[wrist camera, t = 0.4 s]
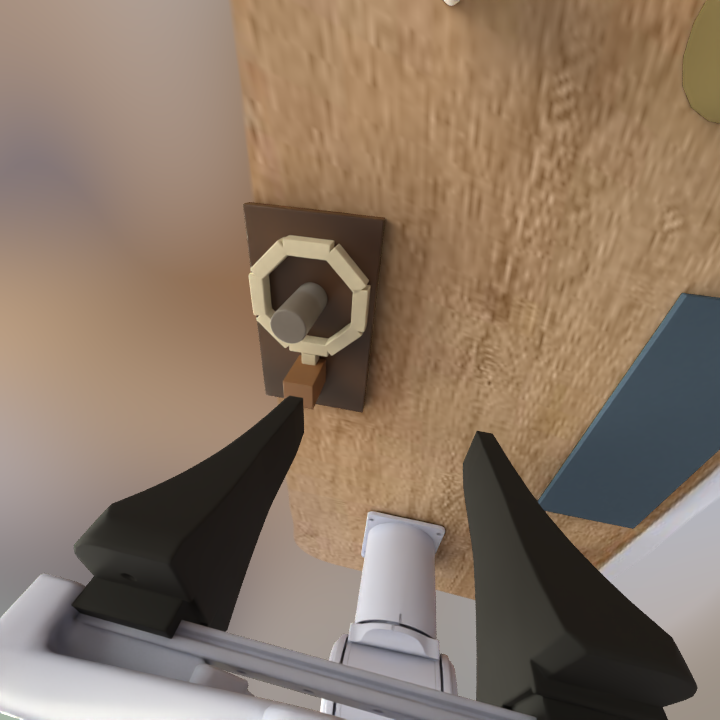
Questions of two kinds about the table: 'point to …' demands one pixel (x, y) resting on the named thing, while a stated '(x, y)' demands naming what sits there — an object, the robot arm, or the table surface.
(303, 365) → the octagonal ring with handle
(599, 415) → the mat
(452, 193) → the table surface
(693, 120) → the table surface
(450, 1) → the perfume bottle
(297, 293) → the peg stand
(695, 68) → the pepper shaker
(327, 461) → the table surface
